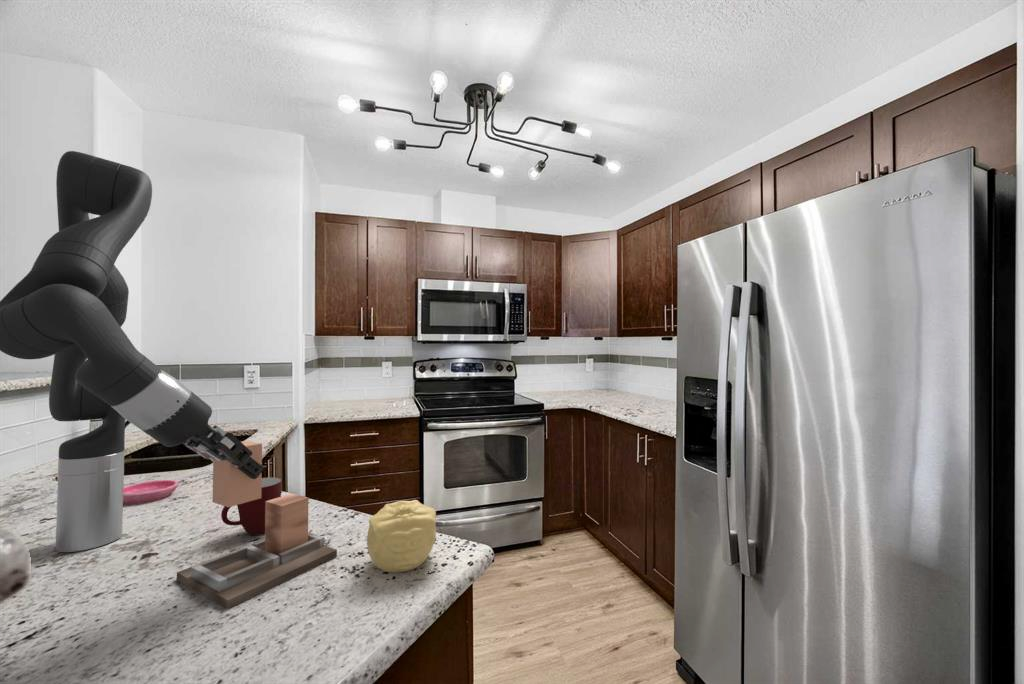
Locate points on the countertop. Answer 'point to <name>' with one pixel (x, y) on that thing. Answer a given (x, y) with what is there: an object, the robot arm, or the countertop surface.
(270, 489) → the mug
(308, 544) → the wooden block stand
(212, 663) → the countertop surface
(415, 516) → the sculpture
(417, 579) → the countertop surface
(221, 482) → the pillar
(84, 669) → the countertop surface
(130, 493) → the saucer
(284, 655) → the countertop surface
